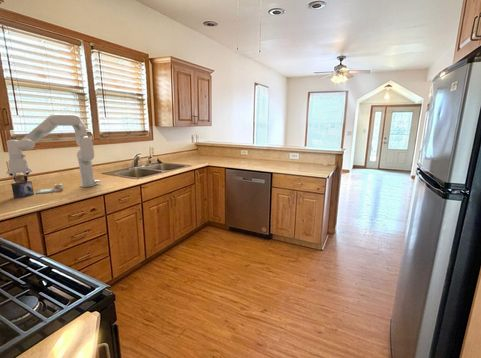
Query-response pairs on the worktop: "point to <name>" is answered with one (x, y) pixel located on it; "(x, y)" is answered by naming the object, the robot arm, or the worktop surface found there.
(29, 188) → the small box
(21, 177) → the walnut cube
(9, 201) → the worktop surface
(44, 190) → the grey square plate
